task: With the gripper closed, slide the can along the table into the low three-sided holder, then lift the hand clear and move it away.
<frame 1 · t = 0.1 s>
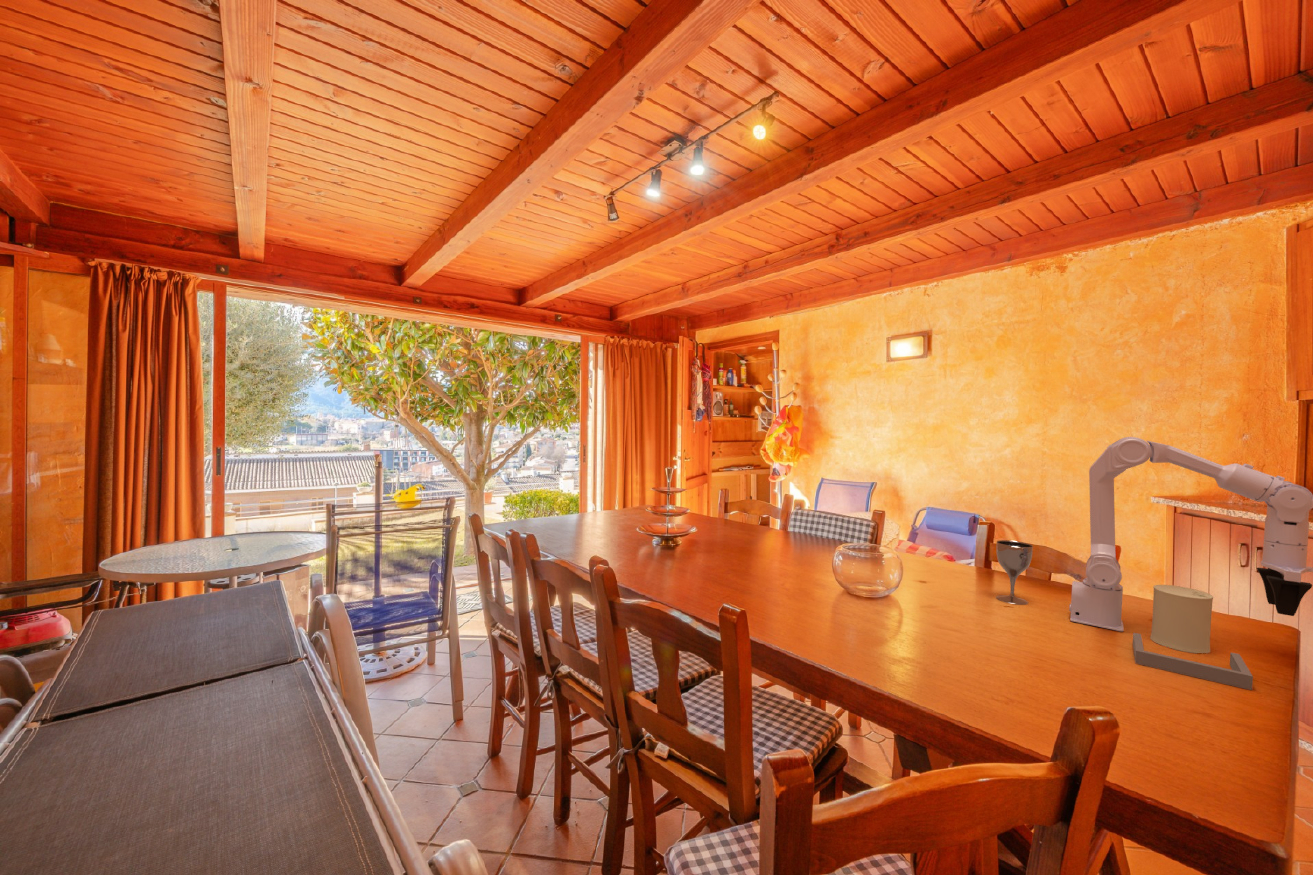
hand: (1280, 609, 108), 10 cm above the table, tool pointing down, fingers open, 7 cm apart
holder: (1186, 663, 105), on the table
wine glass: (1011, 600, 141), on the table
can: (1179, 645, 114), on the table
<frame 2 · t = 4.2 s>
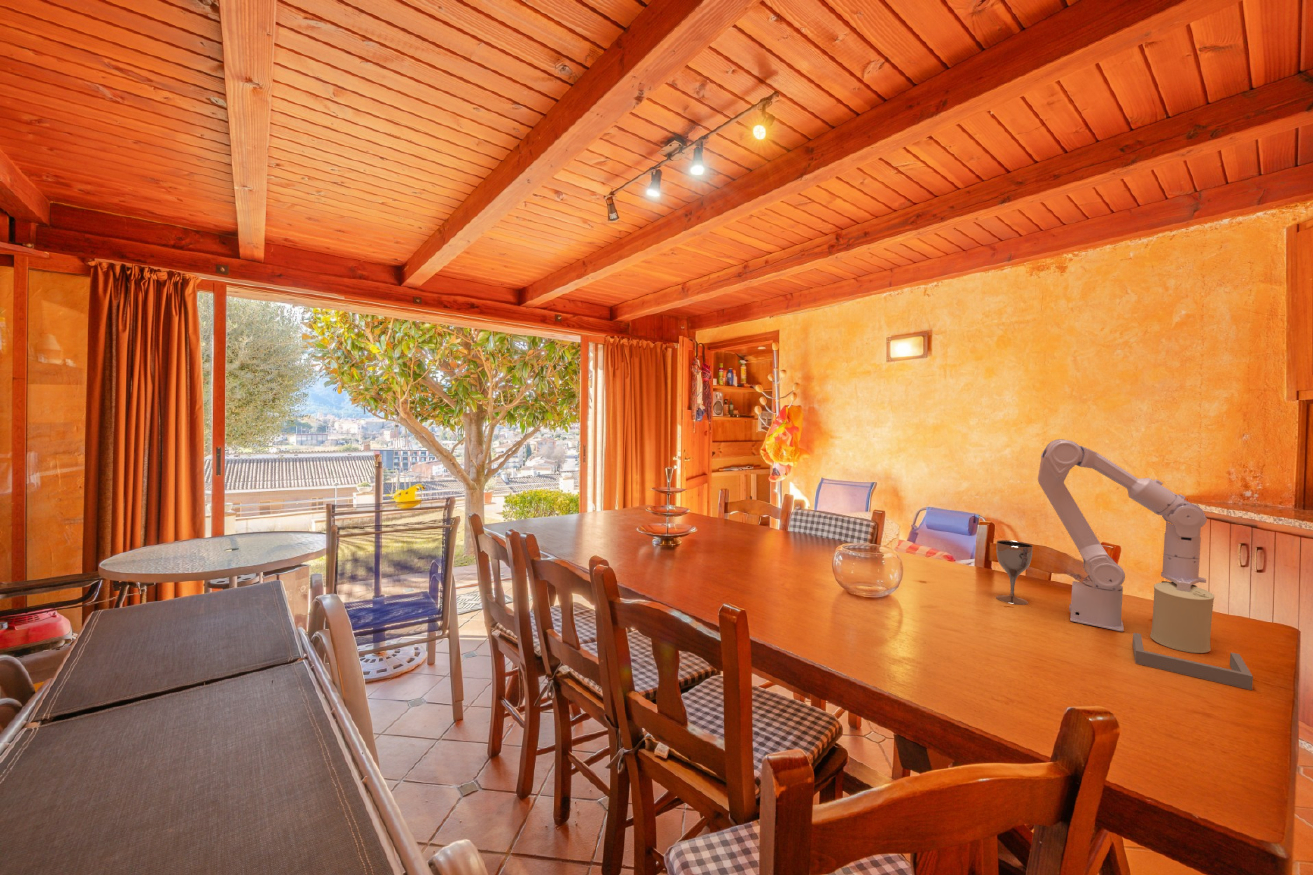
hand: (1177, 616, 119), 4 cm above the table, tool pointing down, fingers closed
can: (1179, 643, 114), on the table, touching gripper
everything else where it was.
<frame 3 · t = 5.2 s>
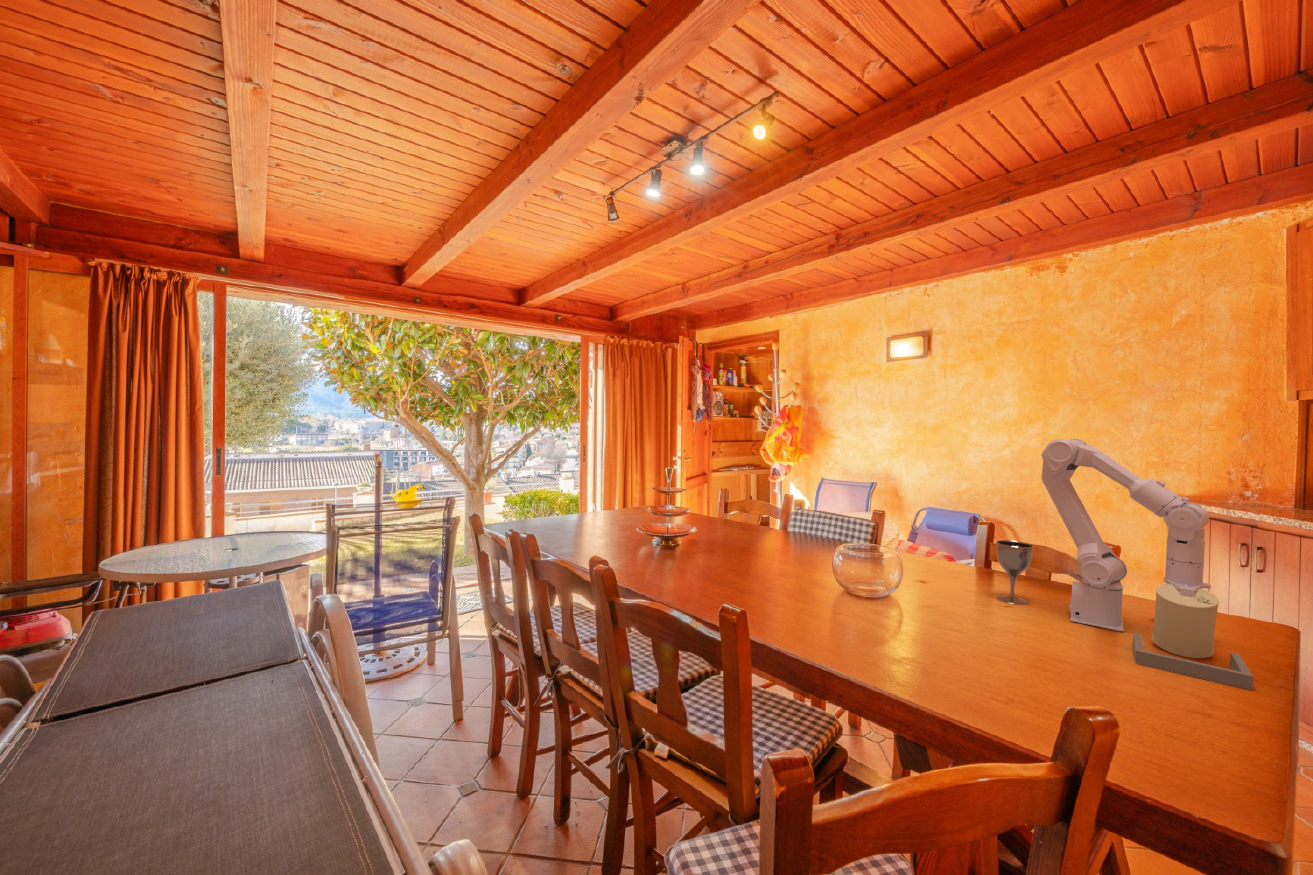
hand: (1181, 623, 114), 4 cm above the table, tool pointing down, fingers closed, pressing on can
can: (1181, 645, 111), point 1 cm above the table, touching gripper
everything else where it was.
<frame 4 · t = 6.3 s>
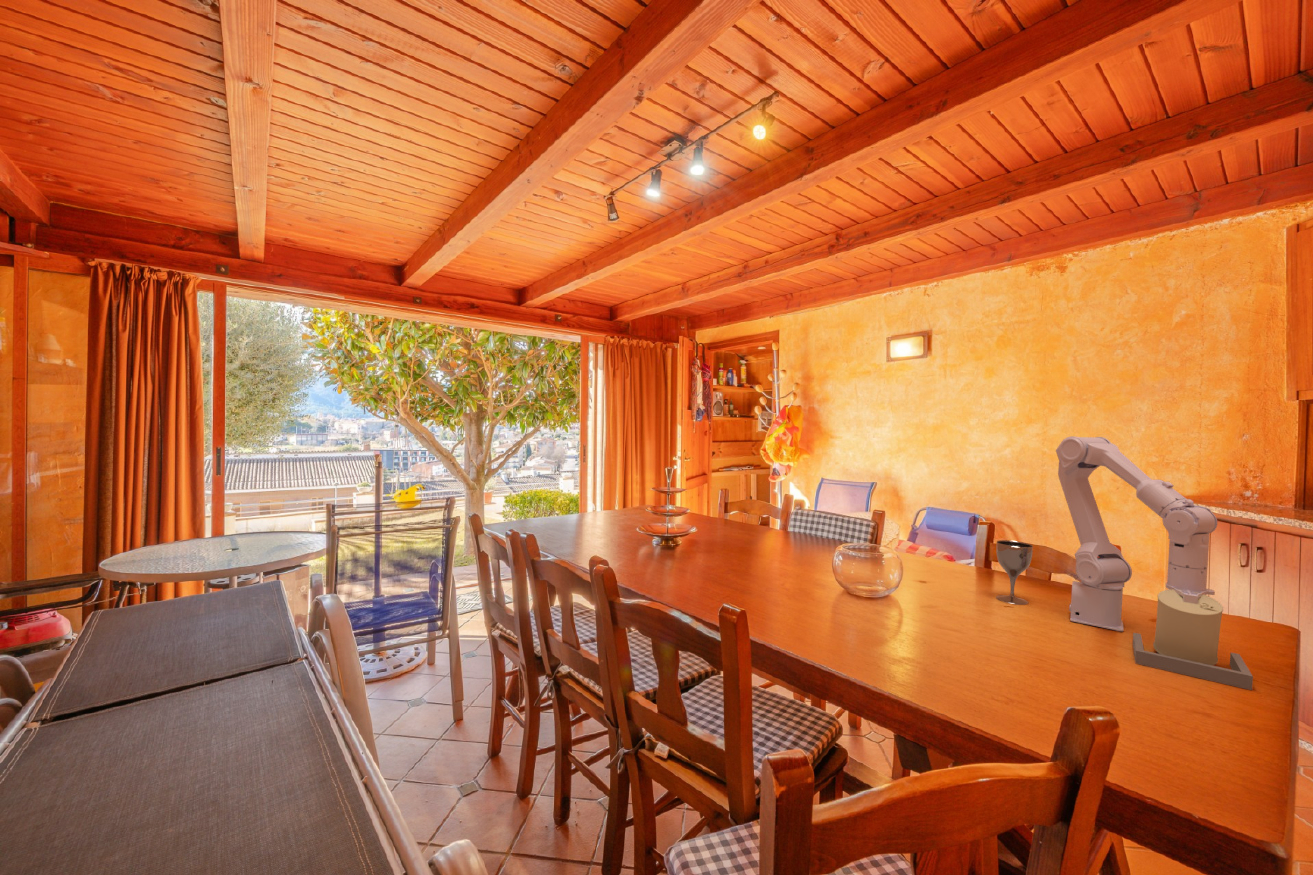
hand: (1183, 630, 110), 4 cm above the table, tool pointing down, fingers closed, pressing on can
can: (1184, 653, 107), point 1 cm above the table, touching gripper
everything else where it was.
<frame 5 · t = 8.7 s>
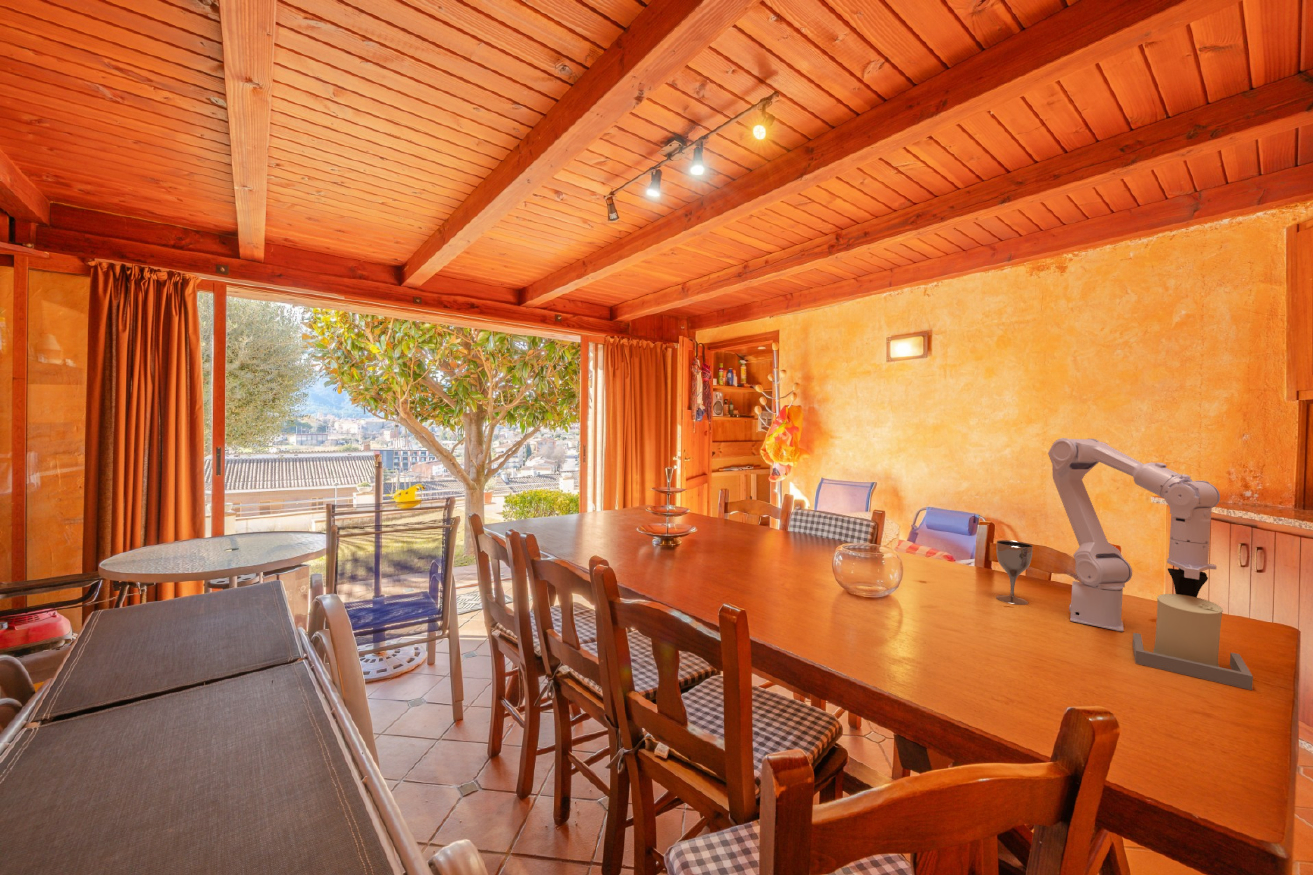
hand: (1185, 606, 109), 10 cm above the table, tool pointing down, fingers closed
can: (1185, 659, 106), on the table
everything else where it was.
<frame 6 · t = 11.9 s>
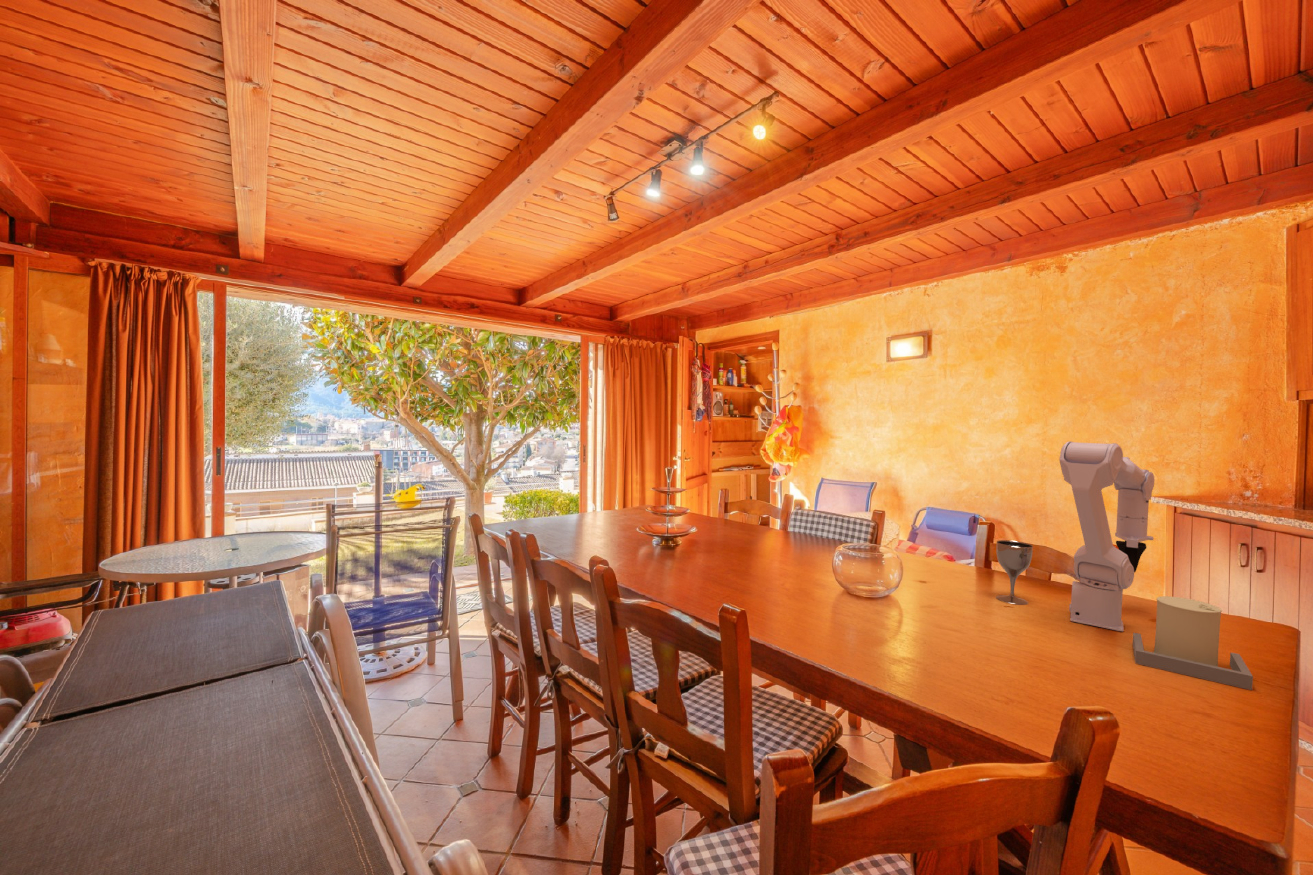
hand: (1129, 571, 133), 10 cm above the table, tool pointing down, fingers closed
at the end: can inside the target area on the holder (3.0 cm from its centre), point 0.0 cm above the holder's base; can tilted 0° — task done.
